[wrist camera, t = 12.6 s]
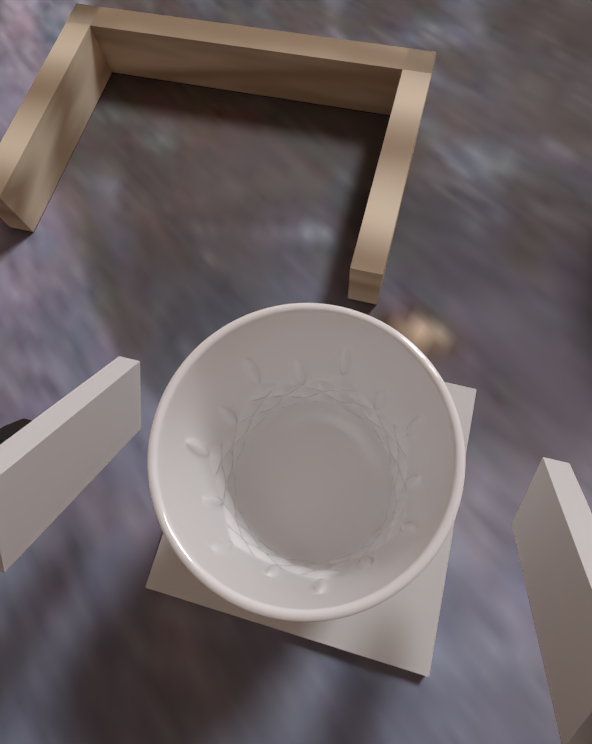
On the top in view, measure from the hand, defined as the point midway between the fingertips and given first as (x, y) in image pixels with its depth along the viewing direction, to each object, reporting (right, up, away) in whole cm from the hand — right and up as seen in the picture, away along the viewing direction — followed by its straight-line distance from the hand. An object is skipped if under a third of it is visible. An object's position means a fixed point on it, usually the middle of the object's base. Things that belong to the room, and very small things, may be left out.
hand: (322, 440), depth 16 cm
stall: (-5, +14, +12) cm, 19 cm away
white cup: (0, -3, +6) cm, 7 cm away
